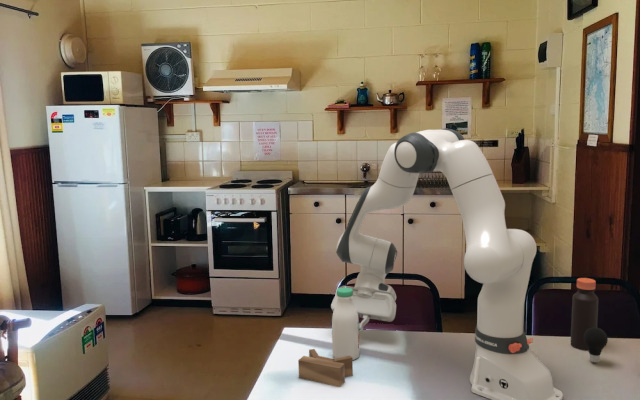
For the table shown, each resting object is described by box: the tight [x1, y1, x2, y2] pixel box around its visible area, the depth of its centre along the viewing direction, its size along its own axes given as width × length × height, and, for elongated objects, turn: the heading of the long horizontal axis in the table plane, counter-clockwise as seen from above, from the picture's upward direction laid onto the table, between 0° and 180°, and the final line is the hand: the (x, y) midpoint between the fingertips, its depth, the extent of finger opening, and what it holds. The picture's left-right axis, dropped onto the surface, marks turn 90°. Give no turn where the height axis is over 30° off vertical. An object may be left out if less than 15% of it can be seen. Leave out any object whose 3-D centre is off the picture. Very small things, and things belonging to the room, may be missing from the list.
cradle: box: [298, 348, 354, 387], centre depth 145 cm, size 8×13×5 cm, turn 63°
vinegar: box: [570, 277, 599, 351], centre depth 158 cm, size 7×7×20 cm
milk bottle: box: [331, 287, 360, 361], centre depth 155 cm, size 8×8×20 cm
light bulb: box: [584, 326, 609, 364], centre depth 148 cm, size 6×6×10 cm
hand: (356, 329), depth 164 cm, fingers closed
